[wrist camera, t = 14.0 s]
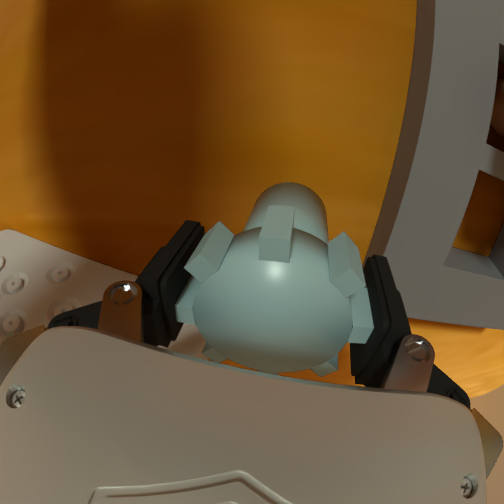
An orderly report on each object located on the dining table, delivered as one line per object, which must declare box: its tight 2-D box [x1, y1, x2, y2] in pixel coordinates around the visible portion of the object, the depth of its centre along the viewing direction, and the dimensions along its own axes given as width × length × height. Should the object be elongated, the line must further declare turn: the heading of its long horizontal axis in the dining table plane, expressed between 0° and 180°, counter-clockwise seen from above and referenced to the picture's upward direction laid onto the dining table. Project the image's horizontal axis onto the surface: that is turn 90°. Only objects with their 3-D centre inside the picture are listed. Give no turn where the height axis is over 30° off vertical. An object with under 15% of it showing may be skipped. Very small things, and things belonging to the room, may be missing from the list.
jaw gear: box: [175, 182, 374, 377], centre depth 12 cm, size 7×7×8 cm
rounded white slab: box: [0, 230, 208, 360], centre depth 17 cm, size 29×8×18 cm, turn 80°
